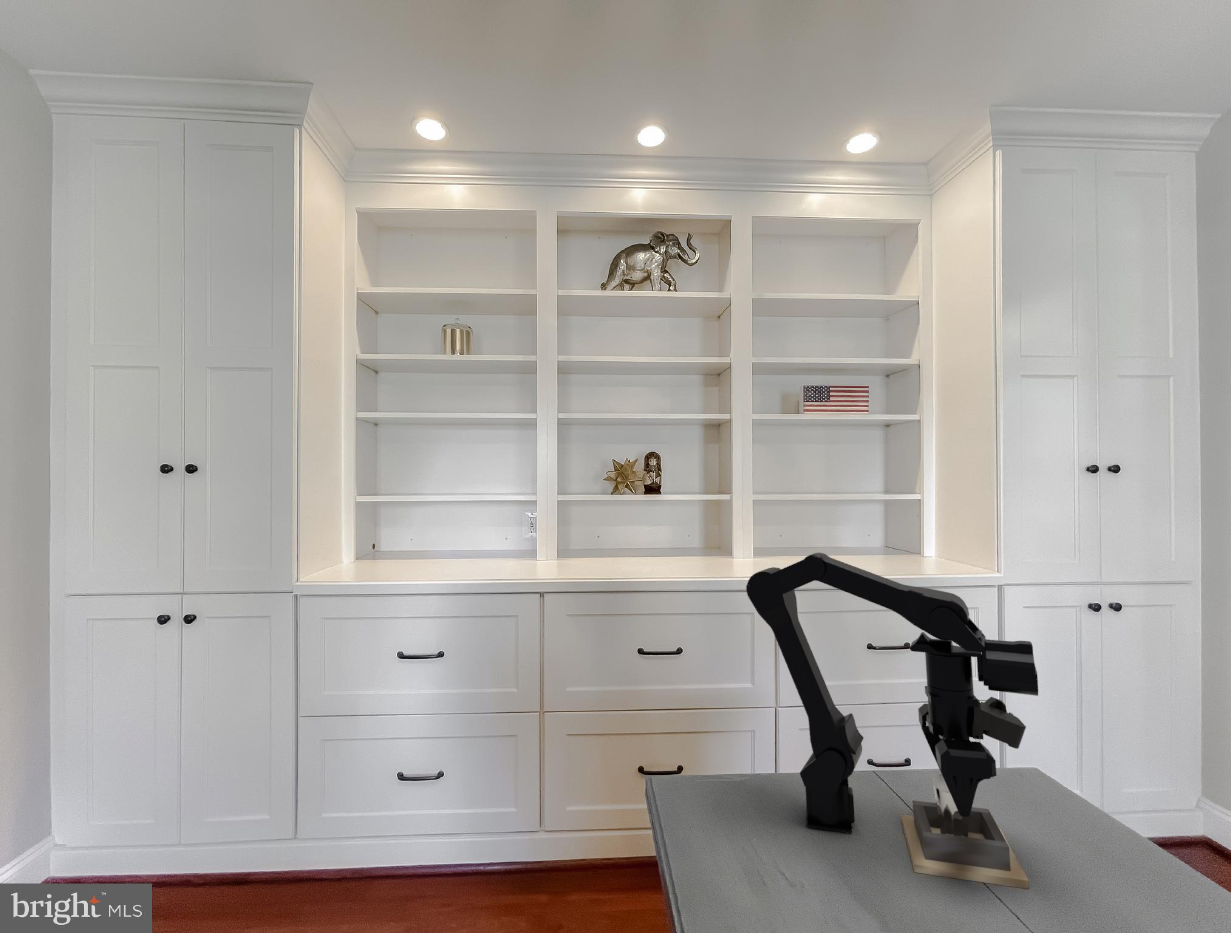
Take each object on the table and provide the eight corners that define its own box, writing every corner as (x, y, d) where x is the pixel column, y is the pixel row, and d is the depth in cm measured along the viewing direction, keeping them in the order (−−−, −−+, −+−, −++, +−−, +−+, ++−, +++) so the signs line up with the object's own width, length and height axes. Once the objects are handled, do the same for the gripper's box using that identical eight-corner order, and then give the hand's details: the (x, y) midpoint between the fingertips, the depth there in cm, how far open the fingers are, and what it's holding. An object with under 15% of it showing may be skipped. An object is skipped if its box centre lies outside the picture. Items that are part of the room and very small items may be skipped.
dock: (914, 872, 80) (912, 840, 80) (901, 821, 92) (899, 794, 92) (1029, 889, 76) (1027, 856, 76) (999, 833, 88) (997, 805, 88)
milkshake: (986, 855, 81) (980, 778, 82) (942, 852, 82) (937, 776, 83) (973, 836, 85) (968, 764, 86) (932, 833, 87) (927, 762, 87)
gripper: (1040, 712, 74) (1049, 845, 73) (996, 669, 91) (1003, 776, 90) (937, 705, 77) (945, 832, 76) (915, 665, 95) (921, 768, 94)
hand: (956, 799), depth 84 cm, fingers open, 9 cm apart
